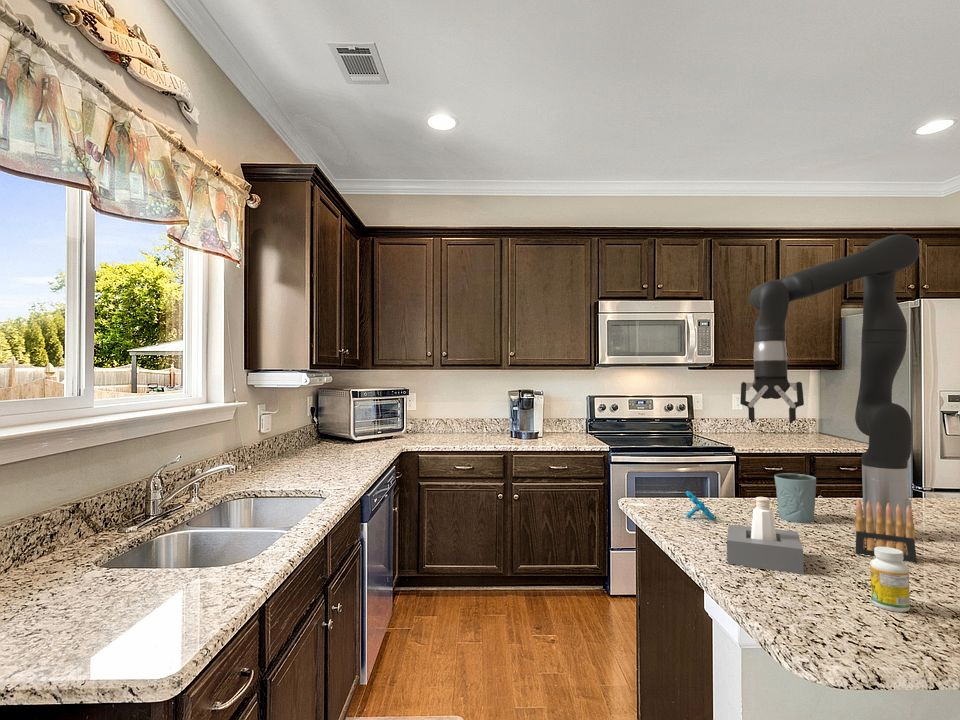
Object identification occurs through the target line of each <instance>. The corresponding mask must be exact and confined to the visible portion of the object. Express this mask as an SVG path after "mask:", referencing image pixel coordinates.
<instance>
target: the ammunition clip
mask: <svg viewBox="0 0 960 720" xmlns="http://www.w3.org/2000/svg"><path fill="white" fill-rule="evenodd" d="M855 508H856V509H855V510H856V511H855V518H854V521H855V522H854V523H855V554H856V553H857V554H856V555H860V554H864V555H863V556H867V555H871V556H870V557H874V556H875V555H874V548H875V547H890V548H895V549H898V550H901V551H902V552H903V557H904V559H903V561H902V562H907V561H908V563H915V564H916V563H917V562H918V561H917V552H916V538H915V535H916V533H915V523H914V518H913V517H914V516H913V510H911V507H910V505H908V506H907V509H906V520H905V535H904V523H903V517H902V509H901V506H900V504H898V505H897V507H896V517H895V534H894V522H893V516H892V509H891V505H890V503H888V504H887V506H886V515H885V533H884V521H883V515H882V507H881V504H880V502H878V503H877V506H876V518H875V532H874V519H873V514H872V506H871V503H870V501H868V502H867V505H866V518H865V530H864V516H863V504H862V501H861V500H860V499H858V500H857V502H856V506H855ZM874 558H877V557H876V556H875V557H874Z"/></svg>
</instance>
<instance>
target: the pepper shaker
mask: <svg viewBox="0 0 960 720" xmlns="http://www.w3.org/2000/svg"><path fill="white" fill-rule="evenodd" d="M770 502H771V499H770V498H768V497H766V496H765V497H764V496H757V497H755V505H756V507H755V508H753V510H752V511H753V512H752V521H751V527H752V530H751V538H752V539H761V540H769V541H777V539H776V532H775V529H776V525H775V517H774V511H773V510H772V509H770Z"/></svg>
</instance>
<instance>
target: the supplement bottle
mask: <svg viewBox="0 0 960 720" xmlns="http://www.w3.org/2000/svg"><path fill="white" fill-rule="evenodd" d="M874 555H875V556H876V557H875V558H873V559H871V561H870V562H869V568H870V569H869V570H870V595H871V596H870V597H871V603H872V604H873V605H874V606H876V607H877V608H879V609H883V610H885V611H891V612H896V613H906V612H908V611H909V610H910V609H911V595H910V594H911V593H910V569H909V567H908V565H906V564H905V563H904V561H903V559H904V557H903V552H902V551H901V550H898V549H895V548H890V547H875V548H874Z"/></svg>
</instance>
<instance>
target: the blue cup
mask: <svg viewBox="0 0 960 720" xmlns="http://www.w3.org/2000/svg"><path fill="white" fill-rule="evenodd" d="M773 476H774V484H775V488H776V499H777V508H778V509H777V511H778V518H779V519H780V518H781V519H780V520H782V519H783V520H782V521H784V520H786V521H785V522H788V521H790V522H789V523H794V522H796V523H795V524H812V523H811V522H813V523H814V522H815V516H816V515H815V507H816V487H817V477H815V476H813V475H808V474H803V473H802V474H801V473H788V472H787V473H783V472H782V473H777V474H774V475H773Z"/></svg>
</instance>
